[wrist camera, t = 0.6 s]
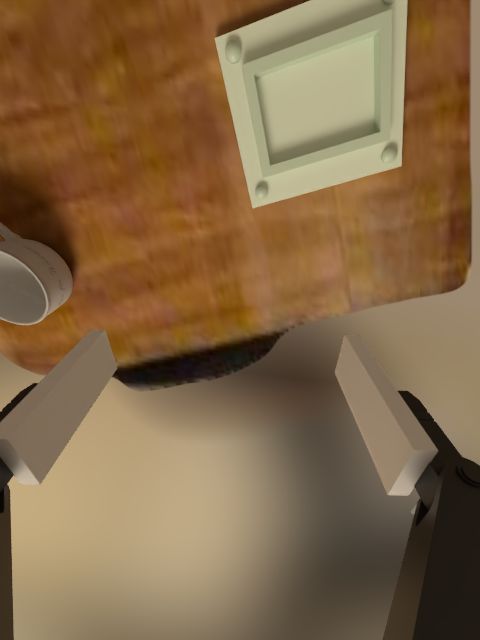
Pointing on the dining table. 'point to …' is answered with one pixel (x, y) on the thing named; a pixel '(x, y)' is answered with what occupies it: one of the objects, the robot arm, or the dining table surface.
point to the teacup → (30, 279)
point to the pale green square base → (317, 94)
